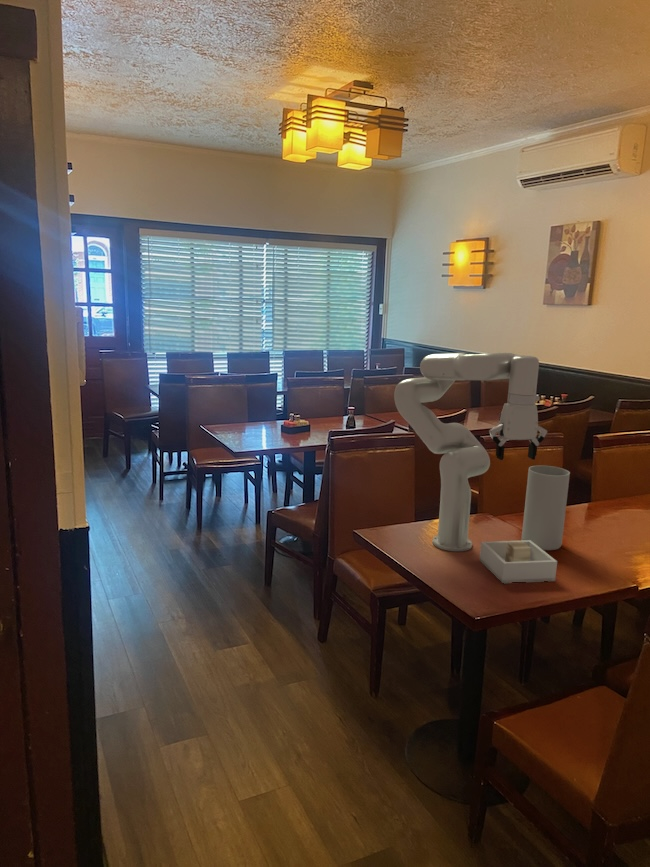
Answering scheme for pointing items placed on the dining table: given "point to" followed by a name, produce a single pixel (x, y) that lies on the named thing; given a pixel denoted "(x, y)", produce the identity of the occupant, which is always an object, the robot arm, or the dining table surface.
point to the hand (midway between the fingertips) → (515, 458)
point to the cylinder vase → (545, 506)
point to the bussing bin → (518, 563)
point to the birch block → (517, 552)
